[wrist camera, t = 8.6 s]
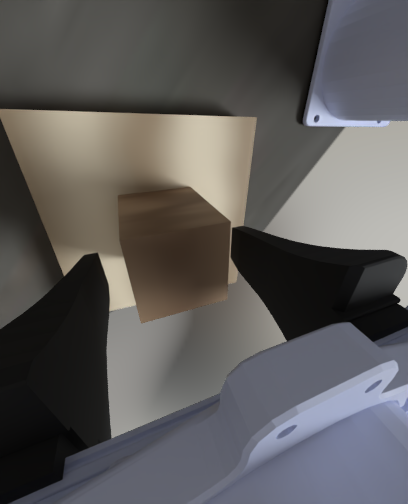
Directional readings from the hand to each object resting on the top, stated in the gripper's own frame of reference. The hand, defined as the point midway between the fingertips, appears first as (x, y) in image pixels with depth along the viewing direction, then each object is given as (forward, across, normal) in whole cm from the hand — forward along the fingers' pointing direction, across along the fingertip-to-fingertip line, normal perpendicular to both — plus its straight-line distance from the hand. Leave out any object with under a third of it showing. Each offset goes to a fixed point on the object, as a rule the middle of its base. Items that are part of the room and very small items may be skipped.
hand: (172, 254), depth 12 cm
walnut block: (+4, 0, 0) cm, 4 cm away
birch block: (+7, 0, 0) cm, 7 cm away
